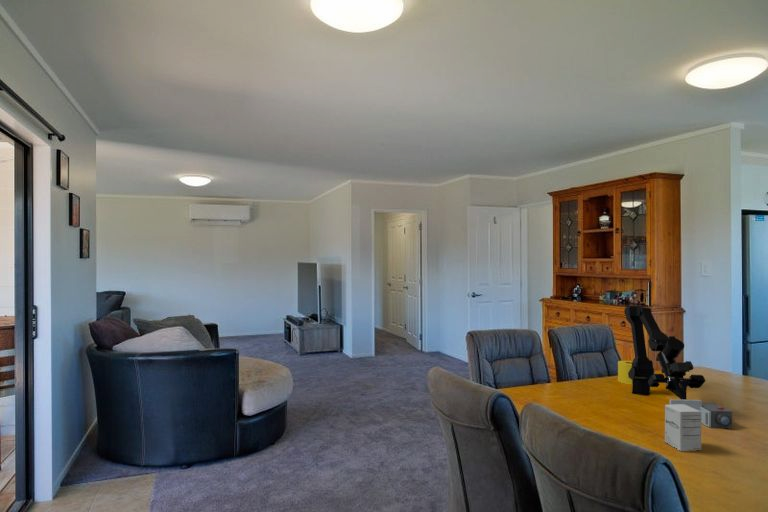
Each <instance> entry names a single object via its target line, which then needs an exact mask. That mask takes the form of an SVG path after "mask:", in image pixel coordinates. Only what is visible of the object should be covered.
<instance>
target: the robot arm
mask: <svg viewBox="0 0 768 512" xmlns="http://www.w3.org/2000/svg"><path fill="white" fill-rule="evenodd" d="M623 311H624V312H623V313H624V316H625V319H626V321H627V323H629V324H630V329H631V336H632V345H633V353H634V358H633V360H631V361H632V367H631V369H630V371H629V372H628V376H629V378H630V379H632V385H631V387H632V389H631V390H632V391H631V394H636V395H642V396H649V394H650V393H651V388H658V387H659V386H660V383H661V384H666V385H665V387H664V388H665V389H666V390H668V391H670V392H672V393H673V394H674V395H675V396H676V397H677V398H678V399H683V400H688V399H687V389H688V387H689V388H690V389H699V388H701V387H702V386H703V384H704V383H705V382H706V381H707V380H706V379H705V376H704V375H702V374H691V375H690V376H689V377H685V376H686V375H687V372H689V373H690V371H692V370H694V365H693V362H692V361H691V360H690V361H687V360H685V361H684V362H677V360H676V358H678V357H679V356H680V355H681V353H682V352H683V350H684V348H685V343H684V342H682V340H680V339H678V338H676V336H675V335H674V336H673V335H669V336H668V335H667V334H666V333H664V332H663V331H662V330H661V329H660V327H659V325H658V323H657V321H656V319H655V317H654V314H653V313H652V312H653V311H652V309H651V308H650V307H644V306H643V305H626V307H624V310H623ZM644 330H646V333H647V335H648V341H647V342H648V346H649V348H650V351H652V352H657V355H656V357H655V361H656V362H659V364H660V367H661V373H655V369H654V365H653V364H654V363H653V361H652V359H651V360H650V358H649V357H648V354H647V347H646V339H645V331H644Z"/></svg>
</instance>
